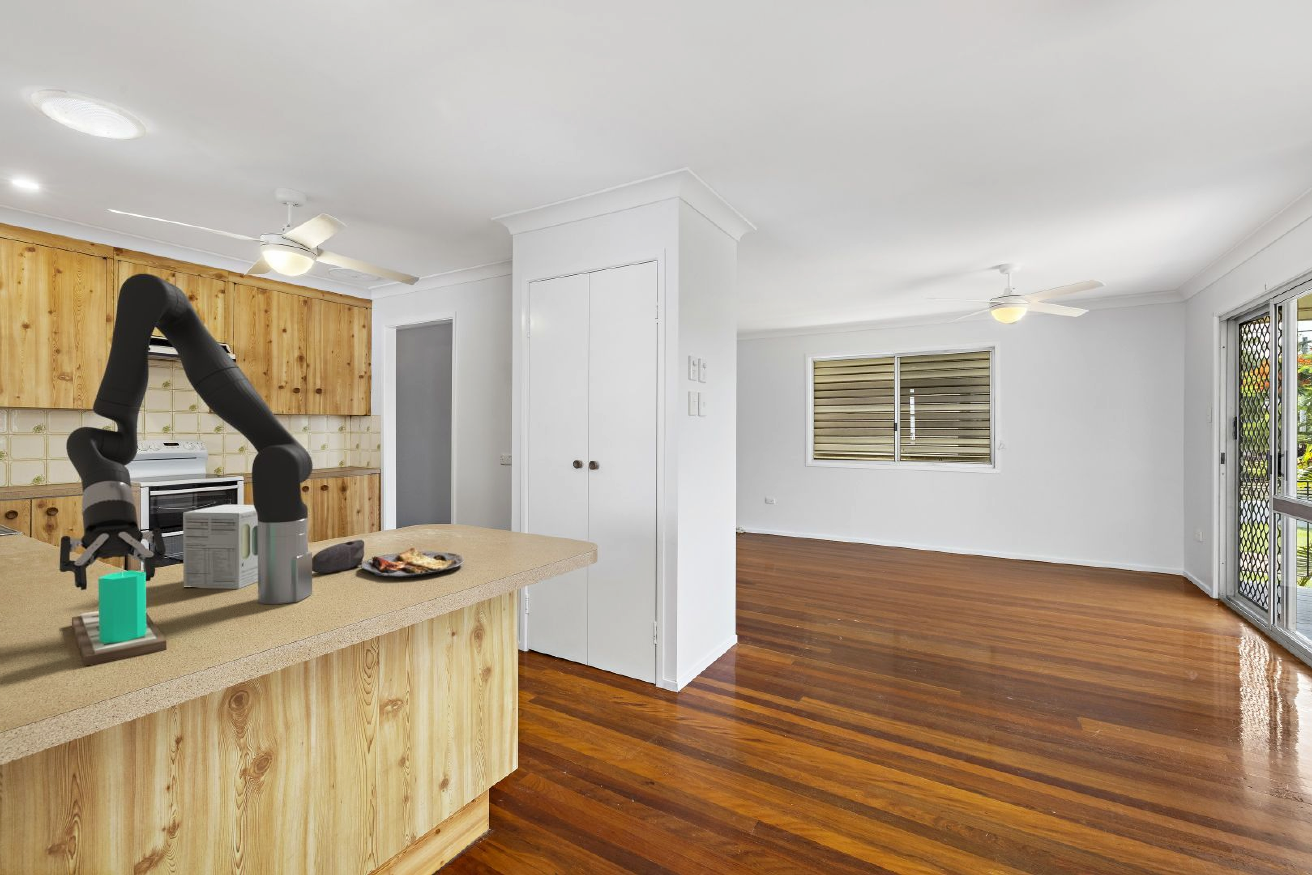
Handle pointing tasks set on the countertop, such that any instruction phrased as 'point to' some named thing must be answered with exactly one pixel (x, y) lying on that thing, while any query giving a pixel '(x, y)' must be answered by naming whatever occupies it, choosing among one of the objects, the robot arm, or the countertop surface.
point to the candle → (122, 606)
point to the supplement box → (220, 547)
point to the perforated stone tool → (339, 557)
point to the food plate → (412, 563)
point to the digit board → (105, 652)
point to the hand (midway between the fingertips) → (117, 582)
